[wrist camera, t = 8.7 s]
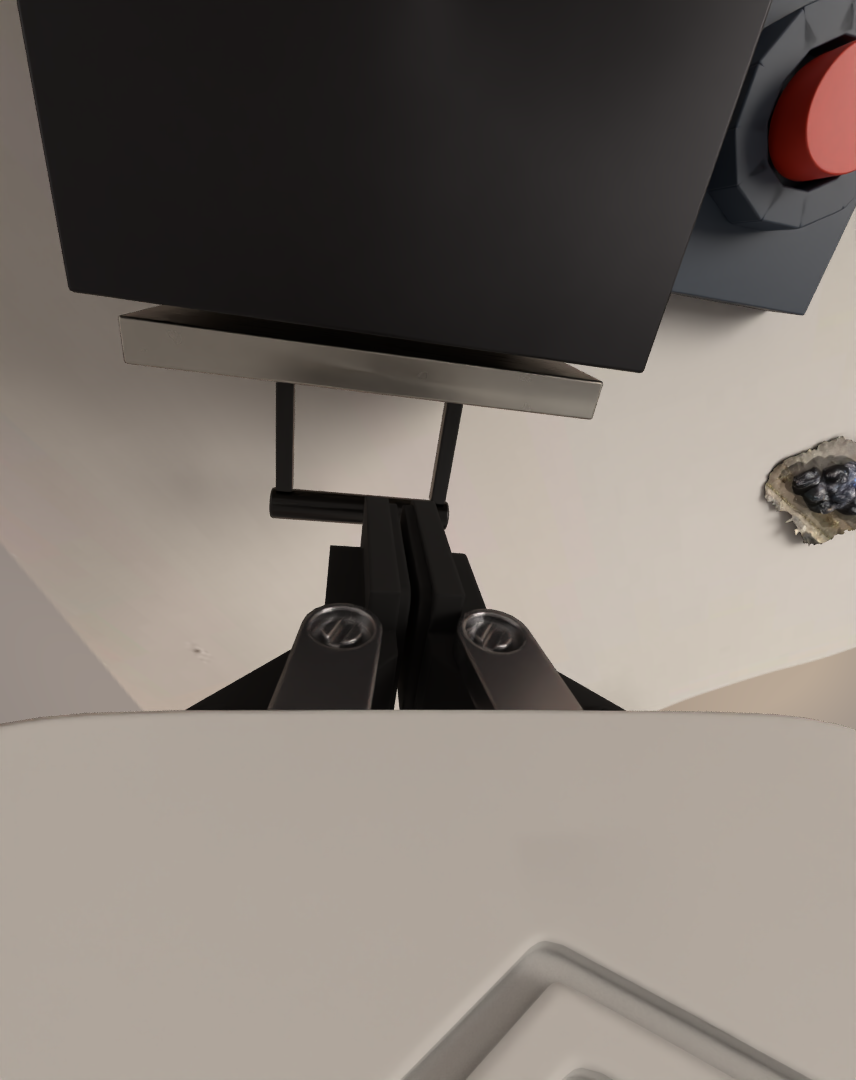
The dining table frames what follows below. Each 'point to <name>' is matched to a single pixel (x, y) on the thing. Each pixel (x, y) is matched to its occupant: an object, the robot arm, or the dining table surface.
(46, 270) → the dining table surface
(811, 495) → the mineral rock specimen
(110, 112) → the black drawer cabinet
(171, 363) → the grey drawer
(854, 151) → the stop button
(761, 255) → the control block
